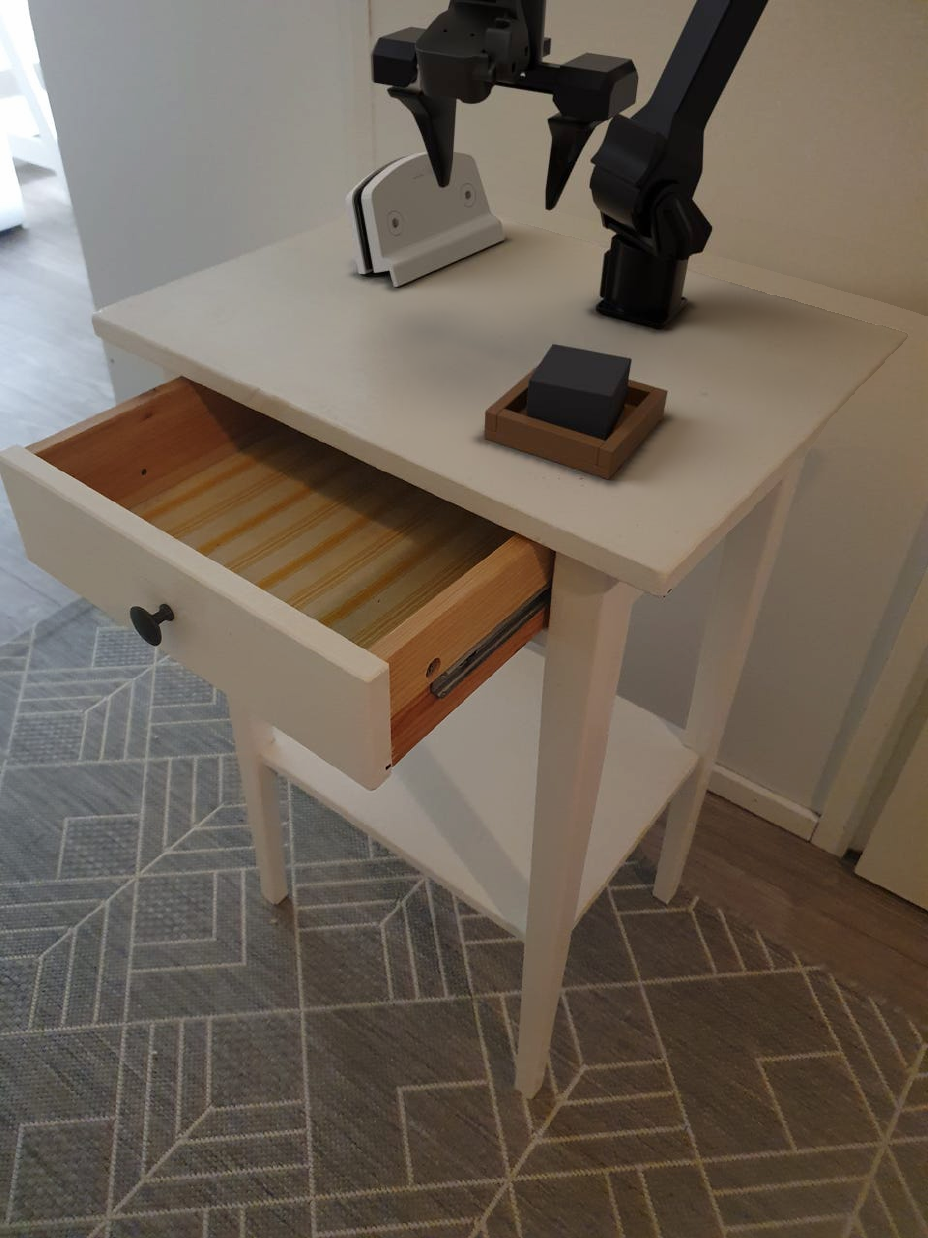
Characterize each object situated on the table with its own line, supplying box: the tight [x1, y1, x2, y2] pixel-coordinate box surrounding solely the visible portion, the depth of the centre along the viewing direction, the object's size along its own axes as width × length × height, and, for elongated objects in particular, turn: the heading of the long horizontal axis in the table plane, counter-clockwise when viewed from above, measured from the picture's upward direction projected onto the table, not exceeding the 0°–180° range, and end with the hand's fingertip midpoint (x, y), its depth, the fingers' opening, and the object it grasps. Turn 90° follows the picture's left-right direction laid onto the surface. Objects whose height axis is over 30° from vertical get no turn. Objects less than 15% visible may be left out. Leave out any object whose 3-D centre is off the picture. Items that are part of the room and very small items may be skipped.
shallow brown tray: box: [483, 364, 669, 480], centre depth 71 cm, size 10×10×2 cm
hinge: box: [345, 151, 506, 288], centre depth 94 cm, size 17×5×10 cm, turn 140°
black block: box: [526, 343, 633, 441], centre depth 70 cm, size 6×6×4 cm
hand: (496, 197), depth 74 cm, fingers open, 9 cm apart
